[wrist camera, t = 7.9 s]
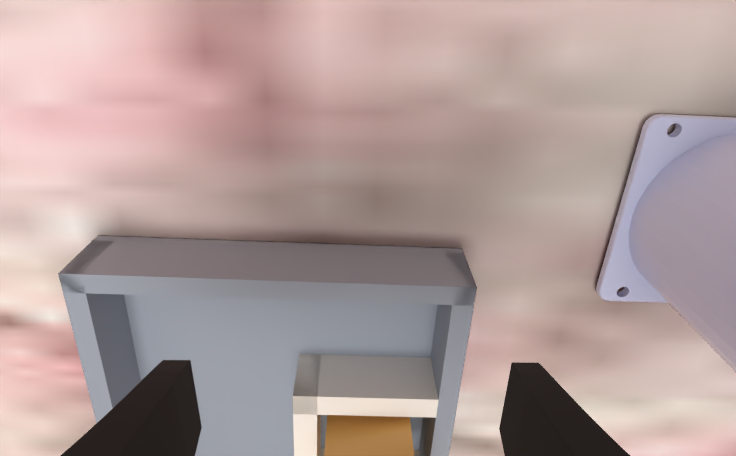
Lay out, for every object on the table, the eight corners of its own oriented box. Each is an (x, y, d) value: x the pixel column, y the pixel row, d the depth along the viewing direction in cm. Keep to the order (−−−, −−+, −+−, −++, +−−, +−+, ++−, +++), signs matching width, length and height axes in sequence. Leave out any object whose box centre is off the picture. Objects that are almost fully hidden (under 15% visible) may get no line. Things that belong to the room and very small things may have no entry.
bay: (461, 248, 21) (476, 287, 18) (421, 524, 29) (427, 580, 26) (97, 235, 21) (58, 273, 18) (157, 519, 28) (135, 575, 26)
